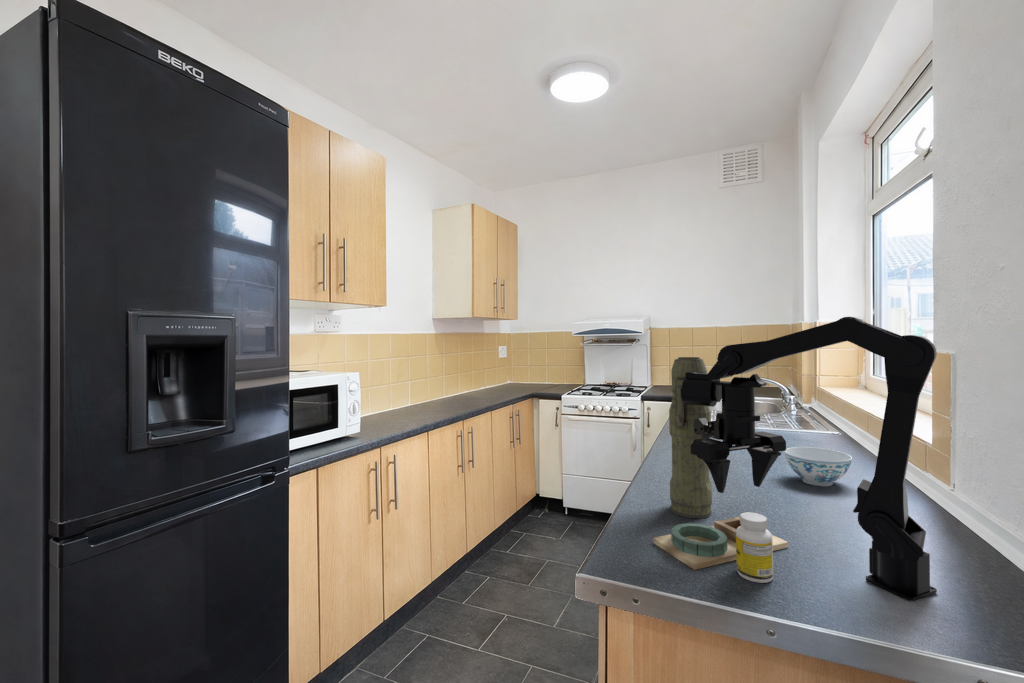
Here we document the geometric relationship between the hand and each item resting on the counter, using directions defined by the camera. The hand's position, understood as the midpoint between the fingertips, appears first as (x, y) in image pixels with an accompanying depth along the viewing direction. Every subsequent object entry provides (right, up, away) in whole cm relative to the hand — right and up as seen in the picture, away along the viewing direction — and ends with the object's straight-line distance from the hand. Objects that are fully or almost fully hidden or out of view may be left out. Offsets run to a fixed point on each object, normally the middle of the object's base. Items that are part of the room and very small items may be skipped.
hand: (739, 489), depth 88 cm
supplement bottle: (-4, -10, -13) cm, 17 cm away
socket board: (-5, -10, -2) cm, 11 cm away
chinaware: (+38, -9, +34) cm, 51 cm away
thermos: (-3, -10, +15) cm, 19 cm away
